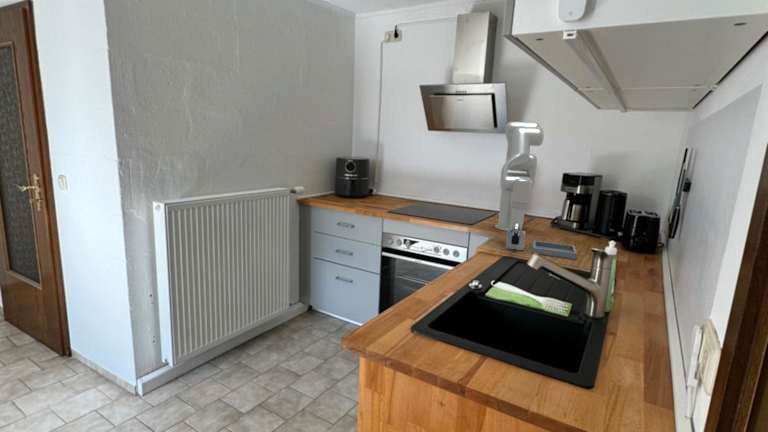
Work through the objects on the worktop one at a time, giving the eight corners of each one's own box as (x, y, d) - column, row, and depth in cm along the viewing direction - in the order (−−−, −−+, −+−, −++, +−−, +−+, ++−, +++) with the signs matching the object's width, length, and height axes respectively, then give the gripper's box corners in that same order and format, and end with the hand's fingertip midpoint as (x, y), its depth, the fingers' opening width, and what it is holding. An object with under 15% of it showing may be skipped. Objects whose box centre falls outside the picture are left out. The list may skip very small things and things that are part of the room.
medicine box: (523, 249, 191) (525, 231, 190) (522, 251, 187) (524, 233, 186) (506, 246, 195) (508, 228, 193) (505, 248, 191) (506, 230, 189)
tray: (532, 246, 197) (533, 240, 196) (573, 251, 191) (574, 245, 190) (532, 254, 184) (533, 248, 183) (576, 259, 178) (577, 253, 177)
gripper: (511, 202, 196) (508, 236, 199) (509, 207, 180) (505, 245, 183) (528, 203, 193) (524, 238, 197) (527, 209, 177) (523, 247, 181)
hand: (515, 241), depth 190 cm, fingers open, 9 cm apart
